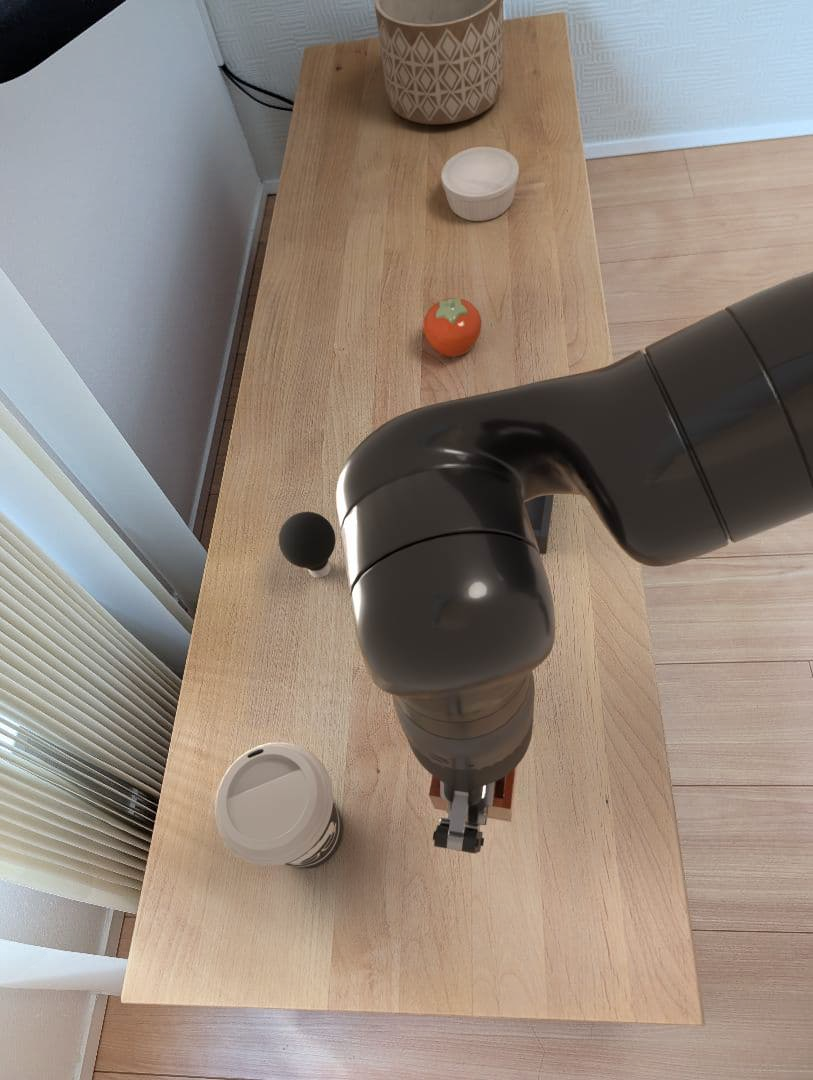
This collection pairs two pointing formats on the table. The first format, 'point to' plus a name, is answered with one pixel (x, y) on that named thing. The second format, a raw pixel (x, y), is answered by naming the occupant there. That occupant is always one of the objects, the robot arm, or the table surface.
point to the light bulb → (308, 542)
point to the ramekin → (480, 182)
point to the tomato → (452, 326)
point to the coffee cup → (279, 808)
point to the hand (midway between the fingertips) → (477, 774)
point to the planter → (441, 57)
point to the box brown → (500, 802)
